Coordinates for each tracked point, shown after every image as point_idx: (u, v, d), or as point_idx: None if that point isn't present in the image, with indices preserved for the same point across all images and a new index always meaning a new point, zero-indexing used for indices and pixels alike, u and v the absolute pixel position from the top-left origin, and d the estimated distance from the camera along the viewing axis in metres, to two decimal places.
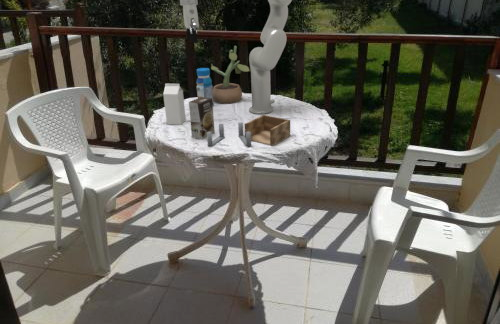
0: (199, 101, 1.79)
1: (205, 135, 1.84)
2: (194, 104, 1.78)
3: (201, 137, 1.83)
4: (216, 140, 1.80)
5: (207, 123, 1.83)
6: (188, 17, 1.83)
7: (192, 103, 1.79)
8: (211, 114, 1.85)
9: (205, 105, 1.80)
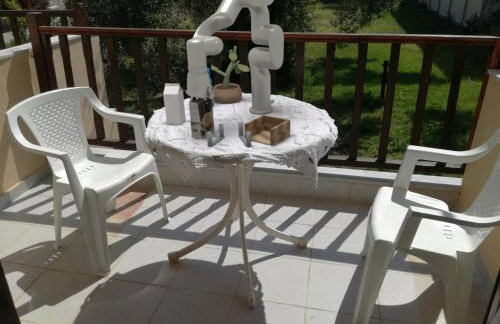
0: (199, 101, 1.79)
1: (205, 135, 1.84)
2: (194, 104, 1.78)
3: (201, 137, 1.83)
4: (216, 140, 1.80)
5: (207, 123, 1.83)
6: None
7: (192, 103, 1.79)
8: (211, 114, 1.85)
9: None
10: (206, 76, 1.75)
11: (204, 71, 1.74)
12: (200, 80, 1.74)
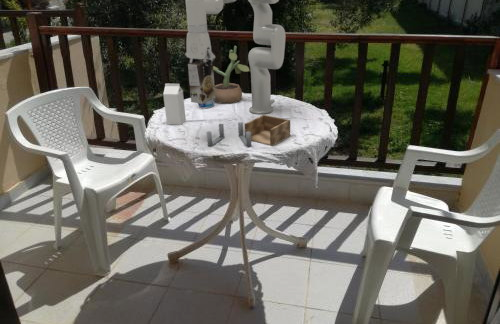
0: (199, 63, 1.71)
1: (205, 100, 1.76)
2: (193, 66, 1.70)
3: (201, 102, 1.75)
4: (216, 140, 1.80)
5: (207, 87, 1.75)
6: None
7: (191, 65, 1.70)
8: (211, 78, 1.76)
9: None
10: (206, 36, 1.66)
11: (204, 30, 1.65)
12: (199, 40, 1.65)
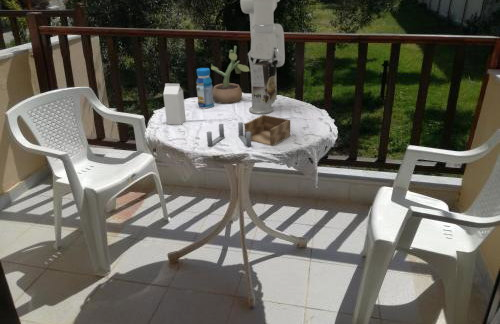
0: (264, 63, 1.67)
1: (268, 101, 1.72)
2: (259, 66, 1.66)
3: (264, 103, 1.71)
4: (216, 140, 1.80)
5: (270, 88, 1.71)
6: None
7: (256, 65, 1.66)
8: (274, 78, 1.73)
9: None
10: (274, 35, 1.62)
11: (271, 30, 1.62)
12: (267, 40, 1.62)
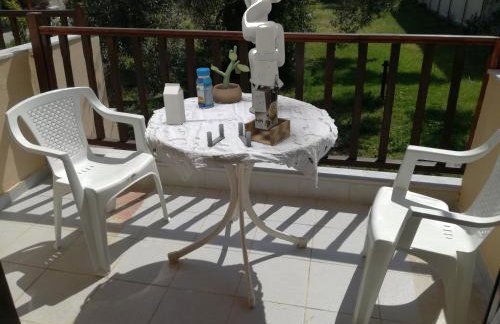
0: (265, 90, 1.71)
1: (270, 125, 1.76)
2: (260, 93, 1.70)
3: (266, 128, 1.75)
4: (216, 140, 1.80)
5: (272, 113, 1.75)
6: None
7: (258, 92, 1.71)
8: (276, 104, 1.77)
9: None
10: (275, 63, 1.67)
11: (273, 58, 1.66)
12: (268, 67, 1.66)
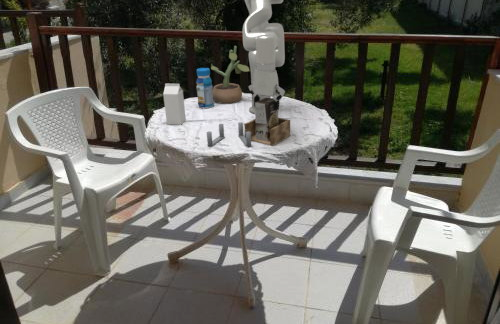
0: (266, 102, 1.73)
1: None
2: (261, 105, 1.73)
3: (266, 139, 1.77)
4: (216, 140, 1.80)
5: (272, 124, 1.78)
6: None
7: (259, 104, 1.73)
8: (276, 115, 1.79)
9: (272, 106, 1.74)
10: (275, 73, 1.68)
11: (273, 68, 1.68)
12: (269, 78, 1.68)
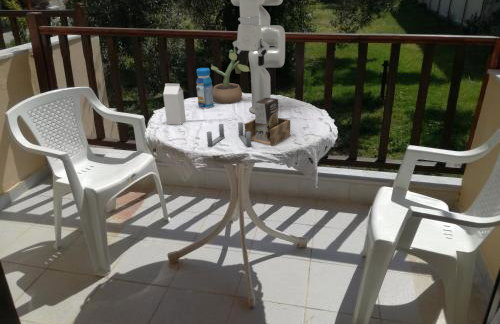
0: (266, 102, 1.73)
1: None
2: (261, 105, 1.73)
3: (266, 139, 1.77)
4: (216, 140, 1.80)
5: (272, 124, 1.78)
6: None
7: (259, 104, 1.73)
8: (276, 115, 1.79)
9: (272, 106, 1.74)
10: (259, 27, 1.67)
11: (257, 22, 1.66)
12: (253, 31, 1.66)
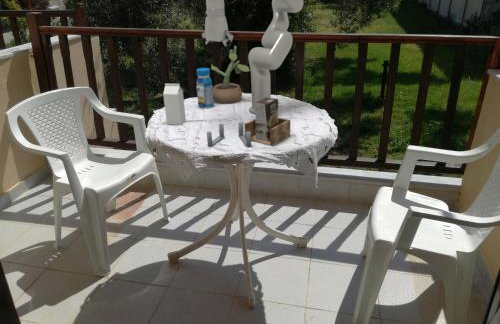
0: (266, 102, 1.73)
1: None
2: (261, 105, 1.73)
3: (266, 139, 1.77)
4: (216, 140, 1.80)
5: (272, 124, 1.78)
6: None
7: (259, 104, 1.73)
8: (276, 115, 1.79)
9: (272, 106, 1.74)
10: (224, 19, 1.80)
11: (222, 14, 1.80)
12: (218, 23, 1.79)
